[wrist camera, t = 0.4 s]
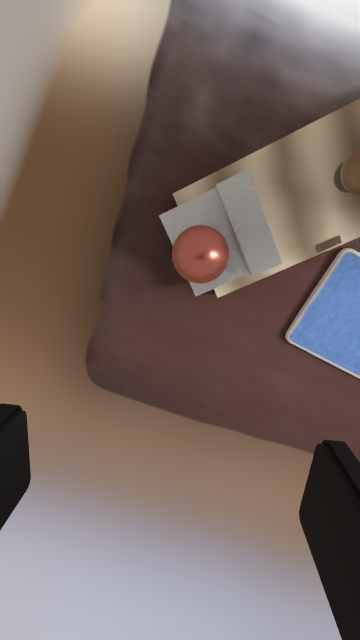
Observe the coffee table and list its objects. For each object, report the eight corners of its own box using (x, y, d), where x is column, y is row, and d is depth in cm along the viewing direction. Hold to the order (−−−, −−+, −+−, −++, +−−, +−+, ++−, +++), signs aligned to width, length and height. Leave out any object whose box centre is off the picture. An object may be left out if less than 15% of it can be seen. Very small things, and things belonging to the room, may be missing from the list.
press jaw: (242, 176, 30) (266, 144, 19) (273, 259, 32) (312, 275, 21) (160, 216, 31) (139, 209, 20) (196, 293, 34) (194, 324, 22)
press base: (389, 86, 29) (447, 43, 22) (418, 206, 32) (477, 200, 25) (174, 196, 33) (167, 187, 26) (216, 294, 36) (220, 309, 29)
